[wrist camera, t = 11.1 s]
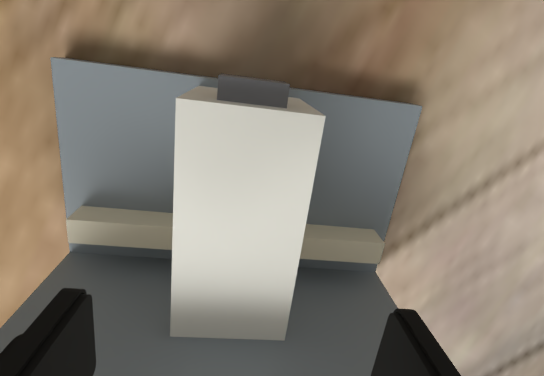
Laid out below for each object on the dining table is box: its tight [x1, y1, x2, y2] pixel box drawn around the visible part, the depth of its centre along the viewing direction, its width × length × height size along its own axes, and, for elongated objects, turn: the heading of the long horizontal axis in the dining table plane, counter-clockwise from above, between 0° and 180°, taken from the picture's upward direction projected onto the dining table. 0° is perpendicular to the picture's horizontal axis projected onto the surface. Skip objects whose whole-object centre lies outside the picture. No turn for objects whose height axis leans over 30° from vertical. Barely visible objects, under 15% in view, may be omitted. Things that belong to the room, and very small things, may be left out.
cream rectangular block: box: [170, 73, 326, 341], centre depth 18 cm, size 6×13×7 cm, turn 173°
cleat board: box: [0, 57, 422, 376], centre depth 18 cm, size 22×14×12 cm, turn 83°
